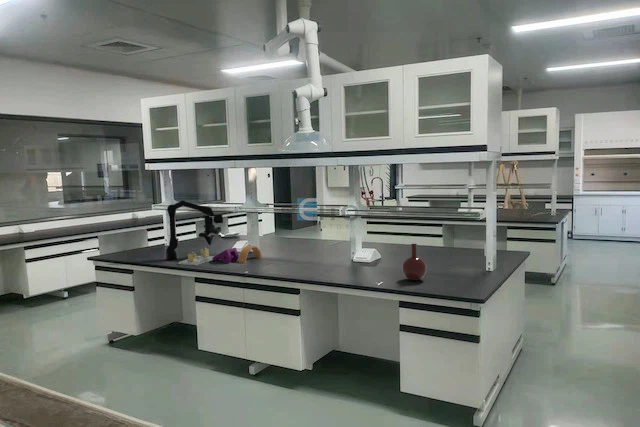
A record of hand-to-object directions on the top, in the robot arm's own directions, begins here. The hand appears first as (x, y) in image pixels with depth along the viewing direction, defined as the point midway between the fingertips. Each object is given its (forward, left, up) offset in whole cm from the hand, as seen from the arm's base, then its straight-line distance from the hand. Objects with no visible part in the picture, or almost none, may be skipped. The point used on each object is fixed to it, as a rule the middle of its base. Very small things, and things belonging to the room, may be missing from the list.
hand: (209, 245), depth 345 cm
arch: (+35, -4, -9) cm, 37 cm away
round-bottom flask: (+154, -36, -9) cm, 158 cm away
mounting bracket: (+19, -12, -9) cm, 24 cm away
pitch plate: (0, -16, -9) cm, 18 cm away
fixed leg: (0, -22, -7) cm, 23 cm away
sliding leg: (0, -7, -7) cm, 10 cm away
